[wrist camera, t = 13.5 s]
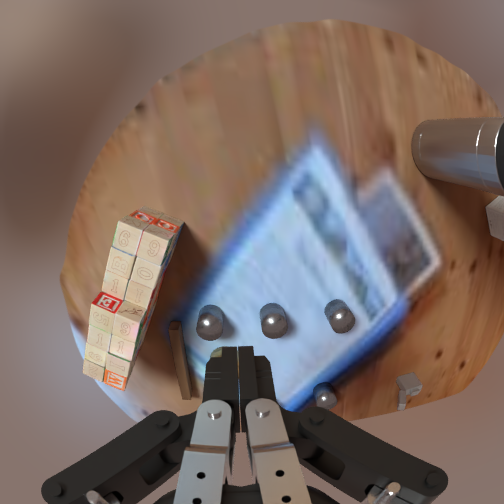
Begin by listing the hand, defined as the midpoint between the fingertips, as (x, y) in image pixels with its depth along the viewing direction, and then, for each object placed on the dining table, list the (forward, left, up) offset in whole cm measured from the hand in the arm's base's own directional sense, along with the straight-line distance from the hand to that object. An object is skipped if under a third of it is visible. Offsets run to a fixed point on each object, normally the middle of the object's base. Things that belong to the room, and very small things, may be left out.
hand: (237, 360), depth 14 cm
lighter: (-32, +32, -27) cm, 53 cm away
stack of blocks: (+14, +8, -27) cm, 32 cm away
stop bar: (+10, +22, -27) cm, 36 cm away
